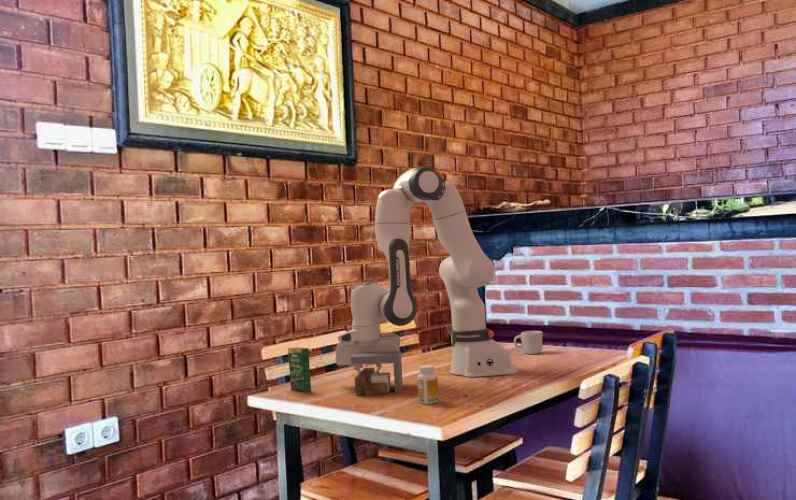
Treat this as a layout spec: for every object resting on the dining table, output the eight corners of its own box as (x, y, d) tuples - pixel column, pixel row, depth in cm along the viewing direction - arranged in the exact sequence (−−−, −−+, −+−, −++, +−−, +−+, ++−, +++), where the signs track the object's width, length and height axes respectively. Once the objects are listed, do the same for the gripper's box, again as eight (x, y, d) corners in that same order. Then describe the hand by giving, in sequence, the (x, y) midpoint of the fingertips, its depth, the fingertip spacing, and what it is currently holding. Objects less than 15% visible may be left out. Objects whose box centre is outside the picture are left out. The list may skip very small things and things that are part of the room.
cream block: (390, 388, 195) (389, 372, 195) (388, 392, 190) (388, 375, 190) (374, 389, 196) (373, 372, 196) (372, 393, 191) (371, 376, 191)
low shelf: (402, 387, 196) (400, 350, 196) (400, 392, 188) (398, 355, 188) (357, 388, 198) (355, 352, 198) (352, 394, 190) (350, 357, 190)
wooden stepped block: (394, 382, 203) (393, 366, 203) (386, 394, 187) (385, 377, 187) (366, 383, 204) (365, 367, 204) (355, 395, 188) (354, 378, 188)
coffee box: (289, 389, 203) (287, 347, 203) (297, 387, 205) (295, 346, 205) (303, 392, 197) (301, 349, 197) (311, 390, 198) (309, 348, 198)
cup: (514, 355, 241) (513, 334, 241) (514, 352, 249) (513, 331, 249) (544, 354, 239) (543, 333, 239) (543, 351, 247) (541, 330, 247)
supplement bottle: (441, 399, 177) (439, 364, 177) (435, 404, 172) (433, 368, 172) (422, 399, 179) (420, 364, 179) (416, 404, 174) (414, 367, 174)
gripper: (400, 331, 204) (403, 375, 204) (336, 334, 206) (339, 377, 206) (398, 334, 198) (401, 379, 198) (332, 336, 200) (335, 381, 200)
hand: (369, 378), depth 202 cm, fingers closed on wooden stepped block, 3 cm apart
